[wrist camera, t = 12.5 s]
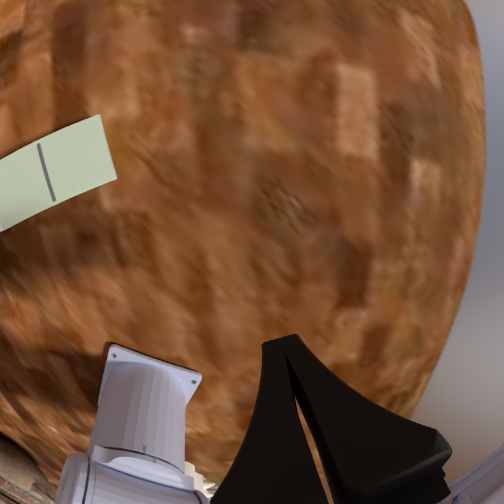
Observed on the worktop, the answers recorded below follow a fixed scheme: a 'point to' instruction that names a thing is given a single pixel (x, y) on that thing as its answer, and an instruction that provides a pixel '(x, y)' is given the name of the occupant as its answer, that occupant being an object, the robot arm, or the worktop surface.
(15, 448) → the cooking pot
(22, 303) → the worktop surface
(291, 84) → the worktop surface
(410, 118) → the worktop surface
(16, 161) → the domino
